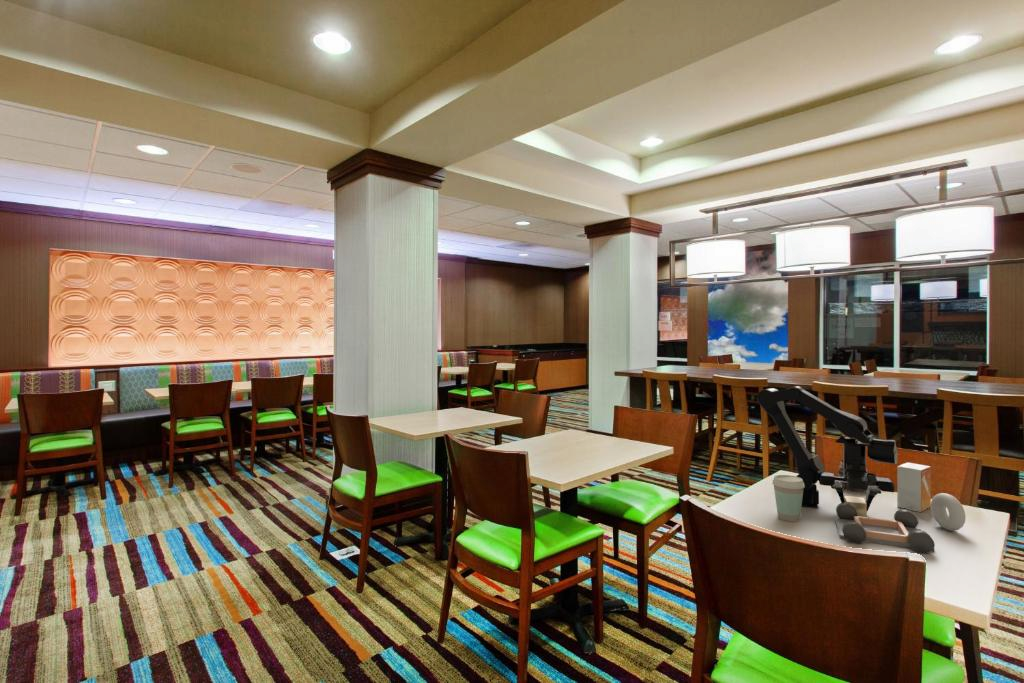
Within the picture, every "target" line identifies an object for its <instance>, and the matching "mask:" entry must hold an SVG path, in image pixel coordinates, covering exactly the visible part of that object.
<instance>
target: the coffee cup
mask: <svg viewBox="0 0 1024 683" xmlns="http://www.w3.org/2000/svg"><path fill="white" fill-rule="evenodd" d="M796 476H797V475H790V474H777V475H774V477H773V479H772V485H773V490H774V499H775V505H776V506H775V507H776V512H777V513H776V514H777V517H778V518H779V519H780V518H781V519H780V520H782V519H783V521H786V520H787V522H798V520H799V521H800V520H801V513H802V507H803V506H802V498H803V489H804V487H805V486H804V483H803V480H802V479H801V478H799V477H796Z"/></svg>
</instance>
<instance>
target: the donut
mask: <svg viewBox="0 0 1024 683" xmlns="http://www.w3.org/2000/svg"><path fill="white" fill-rule="evenodd" d="M930 510H931V511H930V512H931V515H932V517H933V518H934V520H935V522H936V523H937V525H939V526H940V527H941V528H943V529H945V530H947V531H951V532H952V531H953V532H954V531H959V530H960V529H962V528H963V527H964V525H965V523H966V519H967V518H966V512H965V509H964V507H963V505H962V504H961V501H959V500H958V498H956V497H955V496H953V495H952V494H949V493H945V492H940V493H937V494H935V495H934V496H933V497H932V499H931V507H930ZM947 511H948V513H947Z"/></svg>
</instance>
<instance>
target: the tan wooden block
mask: <svg viewBox="0 0 1024 683" xmlns="http://www.w3.org/2000/svg"><path fill="white" fill-rule="evenodd" d="M844 501H845V503H849V504H851V505H853V506H854V508H855V509H856V512H857V517H858V516H861V517H868V511H867V503H866V502H865V501H866V499H865V498H864V497H861V496H860V497H859V496H851V495H844Z"/></svg>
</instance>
